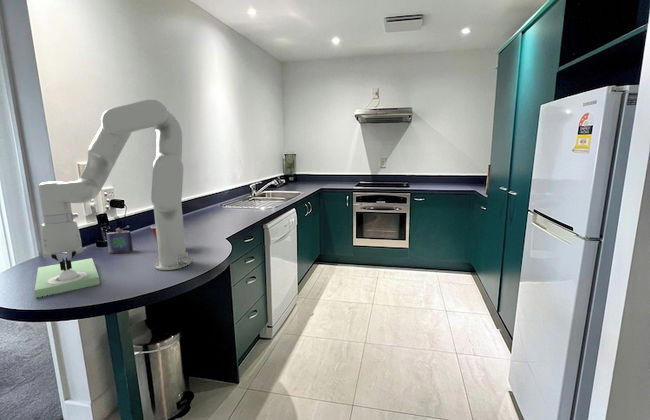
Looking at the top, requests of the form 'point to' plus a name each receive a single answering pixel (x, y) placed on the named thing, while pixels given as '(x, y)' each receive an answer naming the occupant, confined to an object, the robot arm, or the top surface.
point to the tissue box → (51, 285)
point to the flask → (119, 241)
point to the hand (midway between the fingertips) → (66, 271)
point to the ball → (68, 275)
